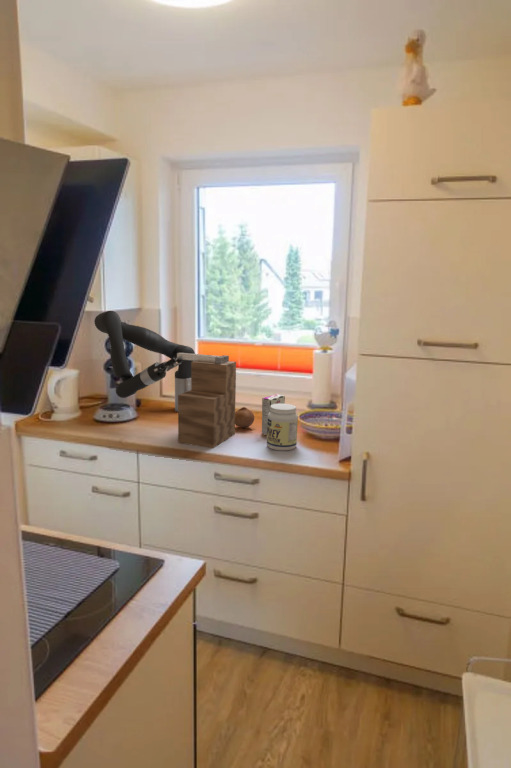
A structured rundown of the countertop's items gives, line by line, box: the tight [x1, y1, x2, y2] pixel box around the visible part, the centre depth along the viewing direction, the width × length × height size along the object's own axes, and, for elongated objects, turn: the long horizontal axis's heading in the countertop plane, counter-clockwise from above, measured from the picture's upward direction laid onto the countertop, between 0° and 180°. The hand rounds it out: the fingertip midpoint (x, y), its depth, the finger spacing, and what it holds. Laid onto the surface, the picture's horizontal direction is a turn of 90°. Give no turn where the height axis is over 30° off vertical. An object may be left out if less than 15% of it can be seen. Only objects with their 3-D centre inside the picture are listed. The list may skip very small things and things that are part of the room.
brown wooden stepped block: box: [177, 360, 237, 449], centre depth 211 cm, size 21×16×32 cm
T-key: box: [177, 353, 230, 364], centre depth 215 cm, size 8×22×2 cm, turn 68°
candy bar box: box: [261, 393, 286, 436], centre depth 224 cm, size 11×5×16 cm, turn 143°
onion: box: [235, 406, 255, 429], centre depth 229 cm, size 10×9×10 cm
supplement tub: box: [266, 403, 299, 452], centre depth 205 cm, size 12×12×17 cm
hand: (180, 358), depth 219 cm, fingers open, 8 cm apart
